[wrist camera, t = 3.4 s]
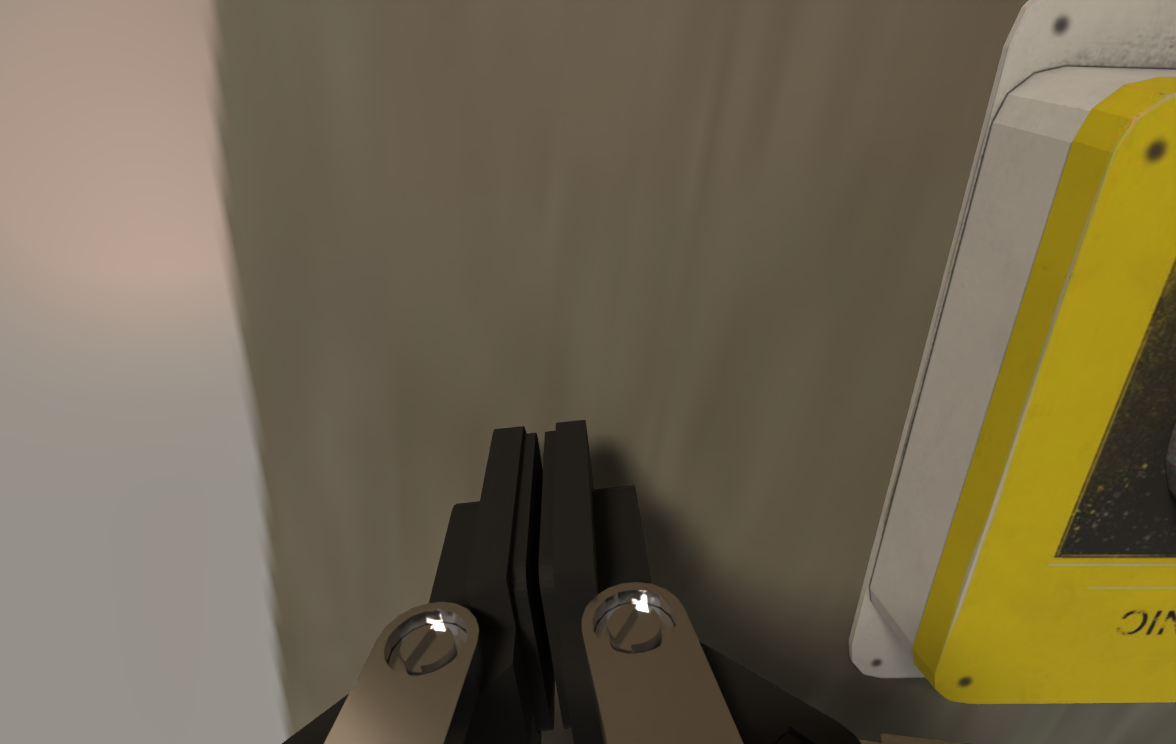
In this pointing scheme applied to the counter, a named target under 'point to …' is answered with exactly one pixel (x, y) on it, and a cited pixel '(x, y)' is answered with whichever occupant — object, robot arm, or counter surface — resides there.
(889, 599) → the emergency button
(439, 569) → the robot arm
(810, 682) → the counter surface
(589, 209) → the counter surface
